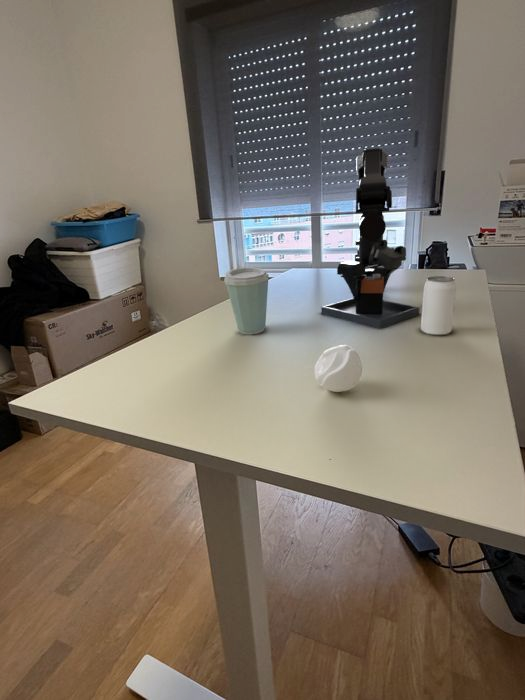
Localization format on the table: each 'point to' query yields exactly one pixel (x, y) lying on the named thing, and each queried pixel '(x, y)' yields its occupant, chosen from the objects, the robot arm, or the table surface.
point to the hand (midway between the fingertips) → (369, 297)
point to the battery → (371, 295)
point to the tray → (389, 314)
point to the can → (438, 305)
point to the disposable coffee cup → (248, 298)
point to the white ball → (338, 368)
